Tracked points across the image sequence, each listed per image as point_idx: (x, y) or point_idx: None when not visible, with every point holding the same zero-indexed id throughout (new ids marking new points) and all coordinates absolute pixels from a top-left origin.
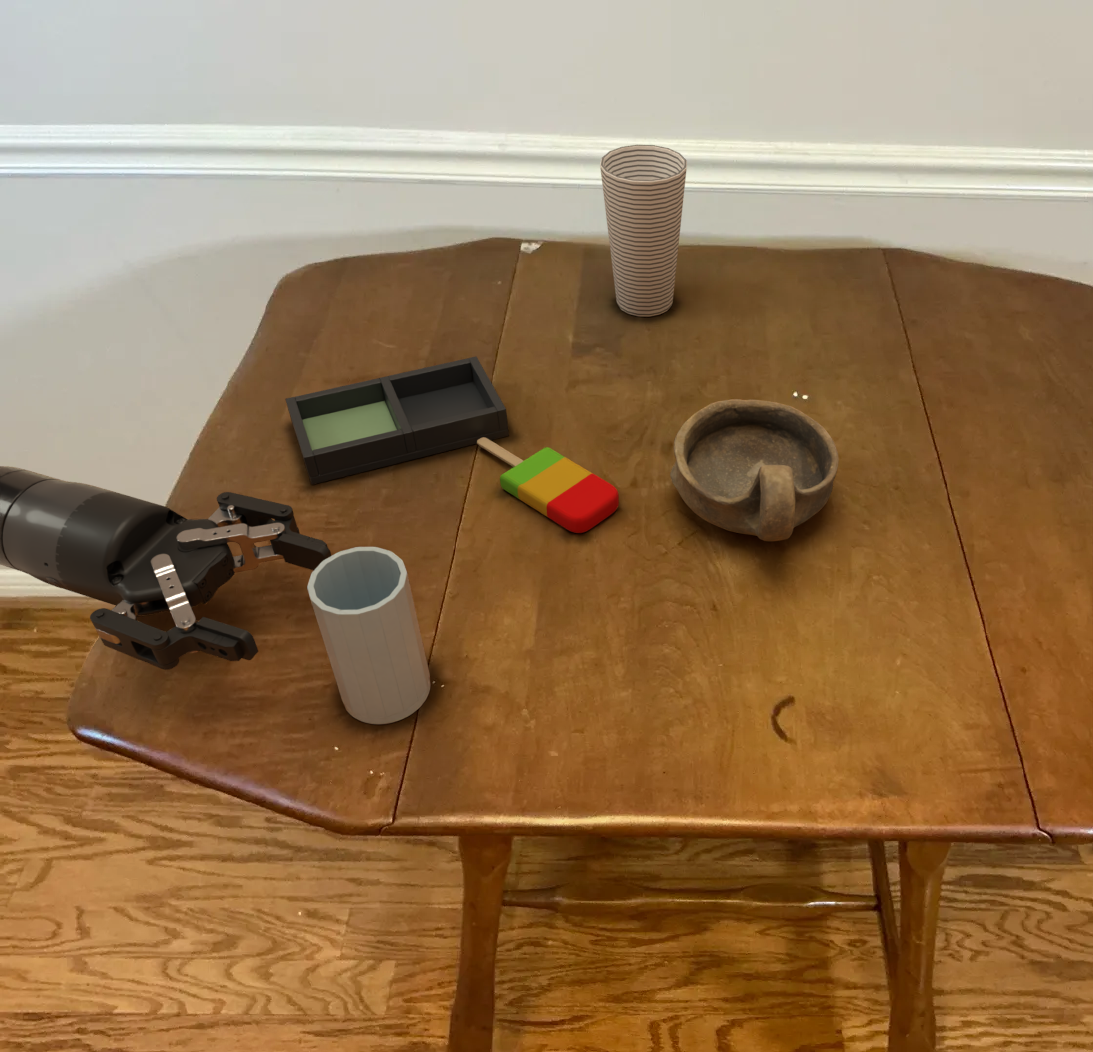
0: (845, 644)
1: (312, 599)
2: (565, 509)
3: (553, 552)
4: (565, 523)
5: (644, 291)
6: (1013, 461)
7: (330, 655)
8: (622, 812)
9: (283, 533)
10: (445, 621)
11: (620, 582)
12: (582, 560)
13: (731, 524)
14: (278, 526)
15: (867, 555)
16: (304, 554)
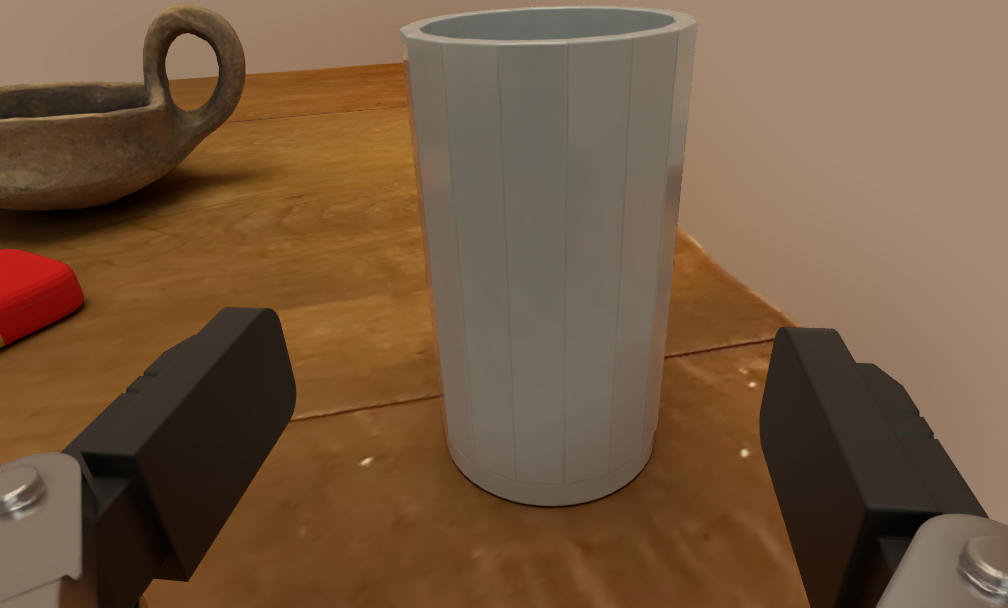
0: (356, 145)
1: (675, 30)
2: (29, 281)
3: (126, 323)
4: (56, 301)
5: None
6: None
7: (664, 265)
8: None
9: (82, 449)
10: (321, 405)
11: (232, 255)
12: (163, 292)
13: (172, 149)
14: (12, 469)
15: (220, 147)
16: (235, 398)
